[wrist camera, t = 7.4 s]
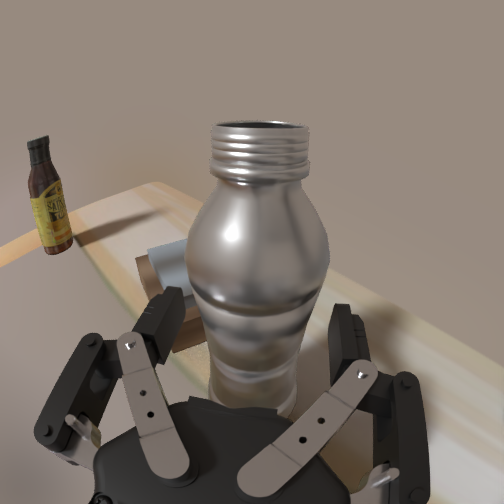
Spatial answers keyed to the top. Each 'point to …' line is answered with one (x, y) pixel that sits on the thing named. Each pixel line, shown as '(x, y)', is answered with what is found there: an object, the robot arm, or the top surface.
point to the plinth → (191, 316)
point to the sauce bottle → (48, 199)
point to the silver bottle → (256, 262)
